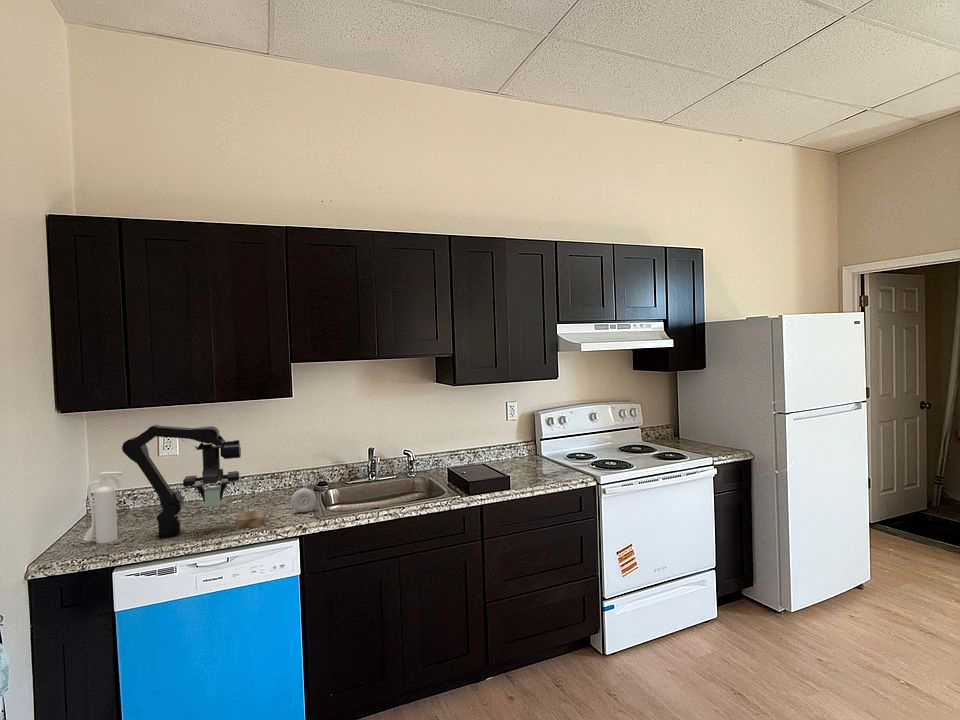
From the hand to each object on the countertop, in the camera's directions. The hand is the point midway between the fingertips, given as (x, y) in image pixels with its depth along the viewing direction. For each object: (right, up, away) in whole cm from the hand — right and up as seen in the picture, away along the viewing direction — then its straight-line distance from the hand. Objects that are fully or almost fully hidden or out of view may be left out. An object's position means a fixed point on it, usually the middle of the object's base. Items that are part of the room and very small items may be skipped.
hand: (213, 501), depth 204 cm
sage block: (0, -1, 0) cm, 1 cm away
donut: (+28, -10, +19) cm, 35 cm away
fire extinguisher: (-35, -12, -9) cm, 38 cm away
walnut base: (+12, -11, +5) cm, 17 cm away
